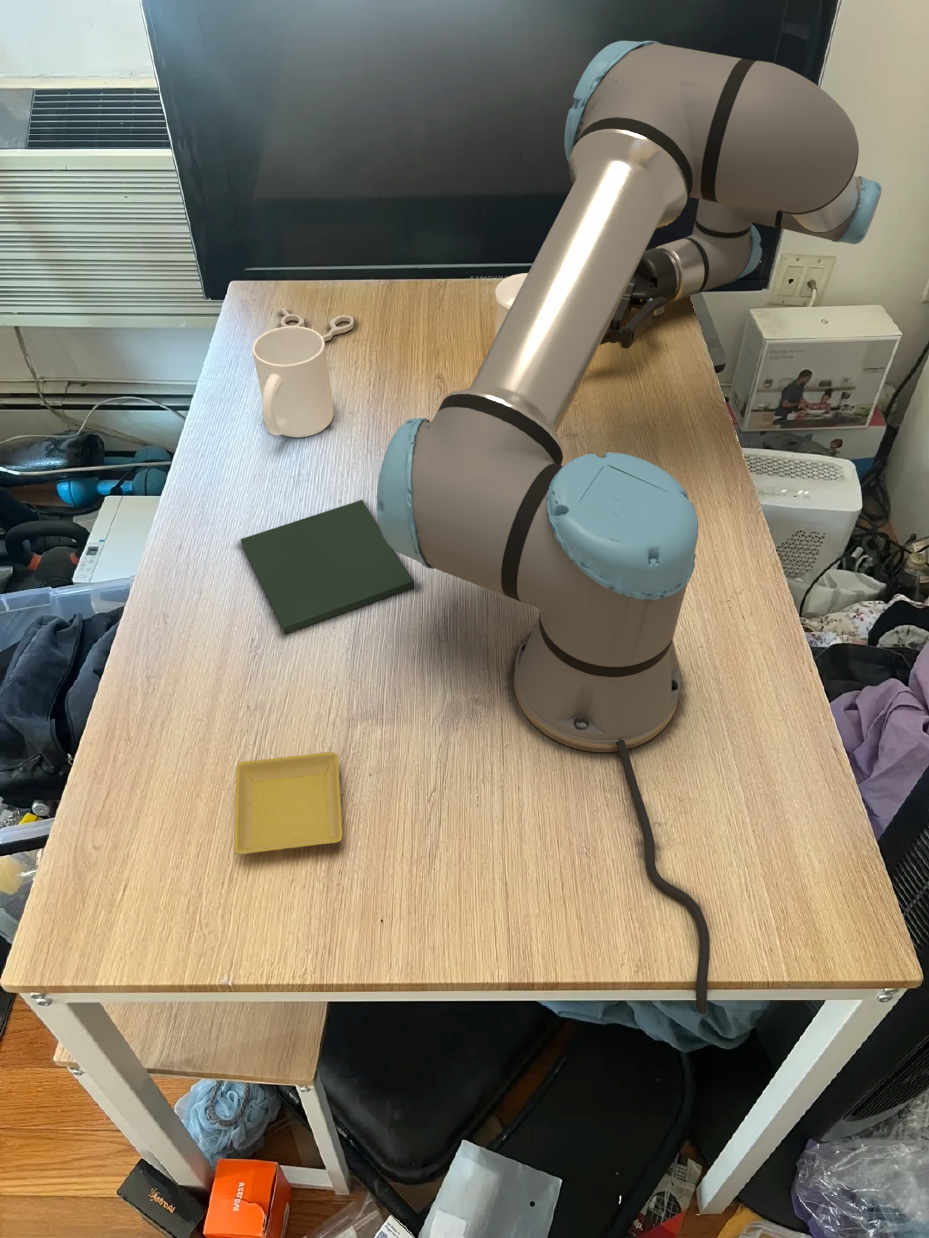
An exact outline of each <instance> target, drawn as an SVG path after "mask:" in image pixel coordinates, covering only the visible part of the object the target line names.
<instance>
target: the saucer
mask: <svg viewBox="0 0 929 1238" xmlns="http://www.w3.org/2000/svg"><path fill="white" fill-rule="evenodd" d="M235 769H236V770H235V801H234V803H235V804H234V808H235V809H234V829H233V831H234V834H233V851H234V853H235V854H237V855H248V854H256V853H264V852H271V851H279V850H288V849H295V848H304V847H311V846H321V845H329V844H336V843H340V842H341V841H342V840H343V836H344V835H343V834H344V833H343V832H344V831H343V820H342V819H343V817H342V802H341V801H342V799H341V783H340V781H341V780H340V763H339V754H337V753H336V752H332V751H327V752H318V753H317V752H316V753H309V754H301V755H292V756H291V755H290V756H284V757H283V756H282V757H275V758H274V757H273V758H264V759H256V760H245V761H240V762H239V763H238V764H237V766H236V768H235Z"/></svg>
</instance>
